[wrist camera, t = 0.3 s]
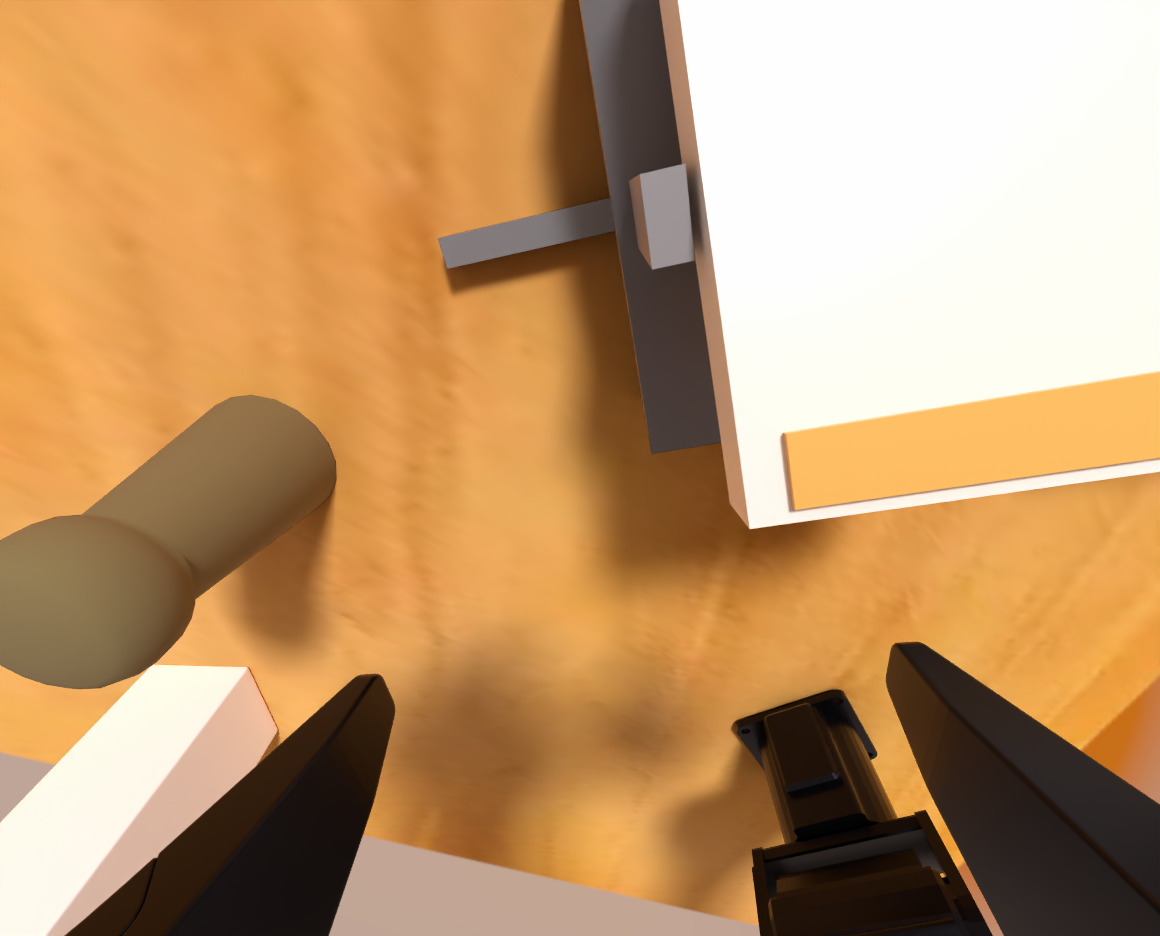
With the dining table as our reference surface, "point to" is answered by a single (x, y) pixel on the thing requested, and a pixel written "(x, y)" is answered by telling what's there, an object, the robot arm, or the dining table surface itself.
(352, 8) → the dining table surface
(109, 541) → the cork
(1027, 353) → the orange striped rocker plate
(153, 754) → the milk
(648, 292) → the rocker switch box
